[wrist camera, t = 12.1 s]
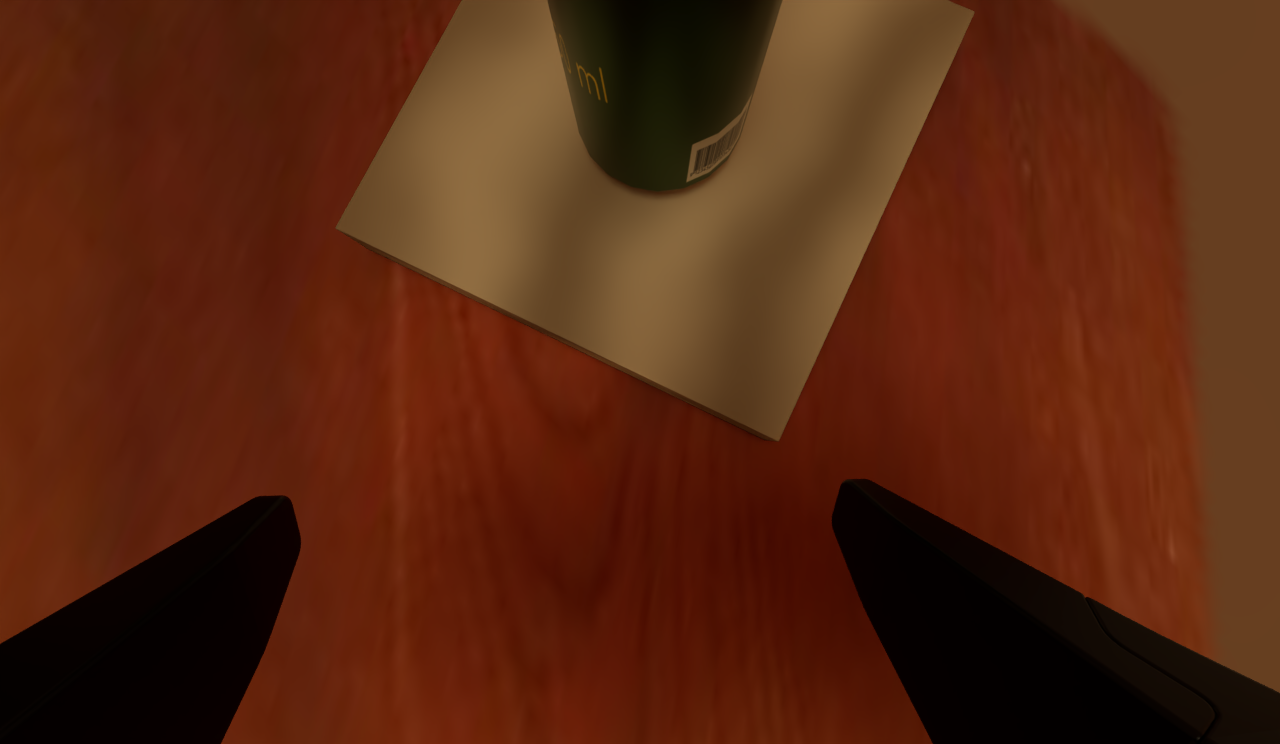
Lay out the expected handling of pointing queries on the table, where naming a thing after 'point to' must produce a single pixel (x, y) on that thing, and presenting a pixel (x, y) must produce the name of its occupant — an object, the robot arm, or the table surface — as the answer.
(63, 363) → the table surface
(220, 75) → the table surface
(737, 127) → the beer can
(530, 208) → the serving board
